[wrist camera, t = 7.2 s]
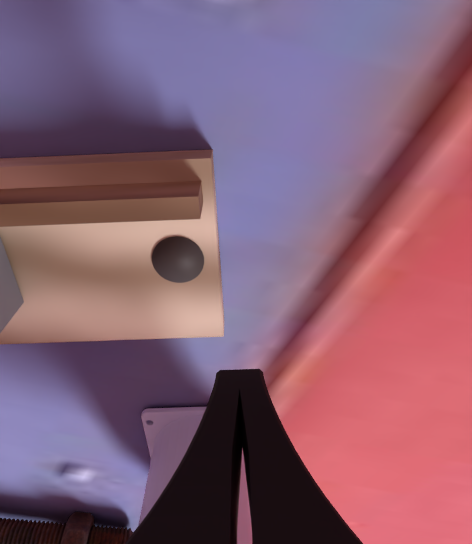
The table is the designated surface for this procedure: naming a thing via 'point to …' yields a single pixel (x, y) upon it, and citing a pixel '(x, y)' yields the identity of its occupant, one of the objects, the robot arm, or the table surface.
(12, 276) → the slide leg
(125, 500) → the table surface
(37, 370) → the table surface
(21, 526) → the bolt
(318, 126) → the table surface
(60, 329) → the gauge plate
